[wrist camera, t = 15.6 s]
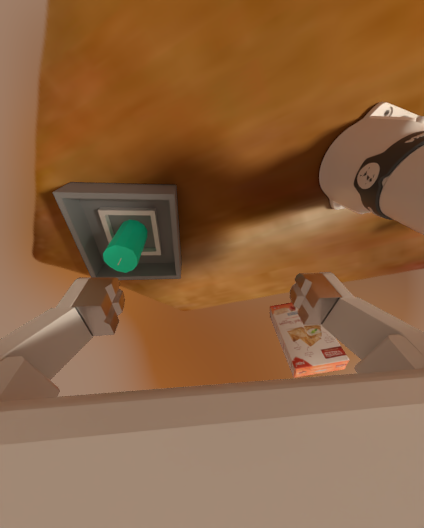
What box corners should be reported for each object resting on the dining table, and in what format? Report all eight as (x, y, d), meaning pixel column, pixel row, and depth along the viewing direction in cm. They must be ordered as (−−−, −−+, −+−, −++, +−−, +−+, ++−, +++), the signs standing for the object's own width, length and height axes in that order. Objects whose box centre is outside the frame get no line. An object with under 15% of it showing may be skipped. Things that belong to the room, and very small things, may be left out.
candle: (150, 242, 45) (140, 276, 35) (124, 244, 44) (107, 279, 35) (143, 218, 41) (129, 249, 32) (115, 220, 41) (92, 252, 31)
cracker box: (310, 297, 64) (351, 360, 48) (308, 308, 68) (345, 370, 51) (269, 305, 65) (295, 370, 48) (269, 315, 68) (293, 379, 52)
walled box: (176, 184, 38) (174, 194, 34) (181, 263, 50) (180, 278, 46) (70, 182, 36) (52, 192, 32) (102, 264, 49) (92, 280, 44)
